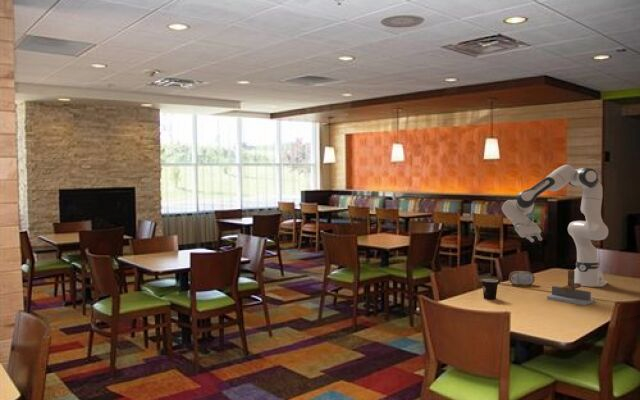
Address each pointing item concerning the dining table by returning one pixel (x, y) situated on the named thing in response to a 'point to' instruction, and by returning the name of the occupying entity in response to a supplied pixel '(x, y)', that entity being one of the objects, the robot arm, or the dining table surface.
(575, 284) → the brown t-shaped block
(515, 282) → the tin
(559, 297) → the ridge stand
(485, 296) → the coffee mug
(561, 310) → the dining table surface
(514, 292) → the dining table surface
